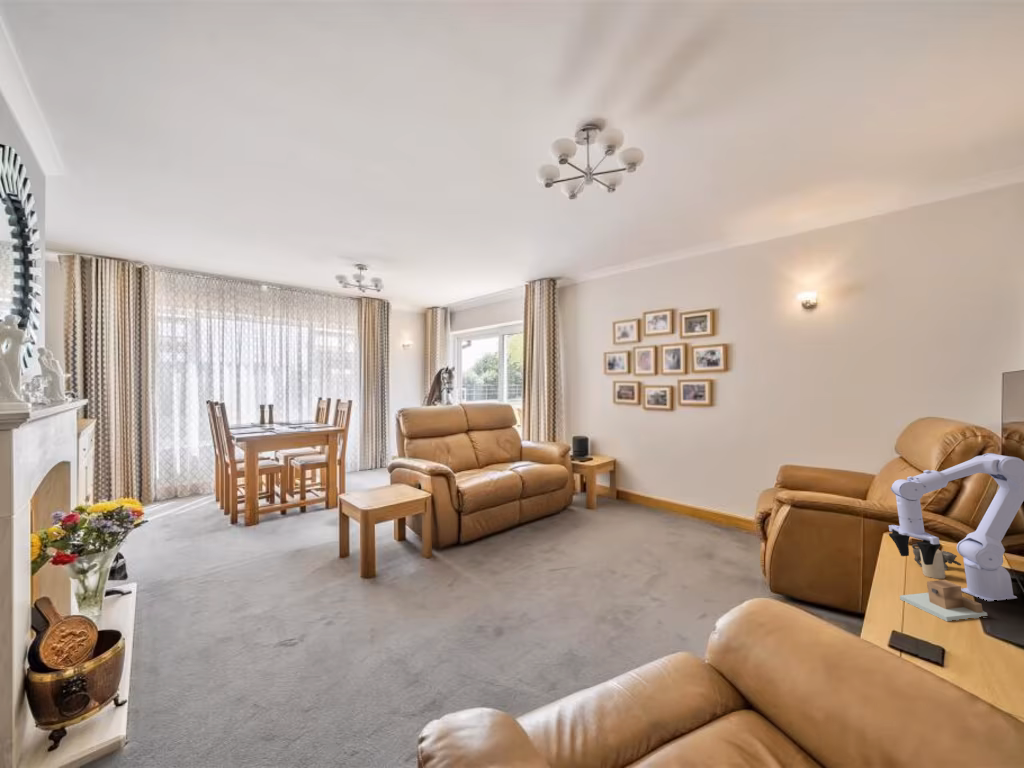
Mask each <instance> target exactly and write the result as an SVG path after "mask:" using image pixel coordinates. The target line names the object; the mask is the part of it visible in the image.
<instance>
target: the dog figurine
mask: <svg viewBox="0 0 1024 768" xmlns="http://www.w3.org/2000/svg"><path fill="white" fill-rule="evenodd" d="M916 546H917V547H916ZM911 547H912V552H913V555H914V559H913V560H914V561H915V562H916V563H917V565H919V567H920V568H922V563H921V556H920V548H919V546H918V544H917V543H913V544H912V545H911ZM941 551H942V556H943V563H944V569H945V571H948V565H947V564H946V563H948V564H949V565H952V564H955V565H957V566H962V563H960V562H959V561H957V560H956V558H957V557H958V556H957V555H956V554H954V553H953V552H950V551H946V550H941Z"/></svg>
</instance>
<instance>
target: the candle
mask: <svg viewBox="0 0 1024 768" xmlns="http://www.w3.org/2000/svg"><path fill="white" fill-rule="evenodd" d="M942 551H943V550H940V549H939V548H938V549H937V551H936V553H935V556H934V560H933V564H932V565H925V564H924V562H923V557H922V553H921V550H920V556H921V561H920V563H921V564H922V567H921V568H922V574H923V575H924V577H928V578H930V579H932V578H933V579H939V580H945V578H946V570H945V569H944V563H943V556H942Z"/></svg>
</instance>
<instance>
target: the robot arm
mask: <svg viewBox="0 0 1024 768" xmlns="http://www.w3.org/2000/svg"><path fill="white" fill-rule="evenodd" d="M976 474H987V475H989V476H990V477H991V478H993V480H994V481H995V482H996V484H997V485H998V486H999V488H998V489H997V491H996V494H995V495H994V497H993V499H992V501H991V502H990V504H989V506H988V508H987V510H986V512H985V513H984V515H983V516H982V519H981V520H980V522H979V524H978V526H977V528H976V530H974V531H972V532H970V533H967V534H966V535H965V536H966V537H964V538H963V539H961V540H960V541H959V542H957V544H956V550H957V553H958V554H959V555H960V556H961V557H962V558H963V566H964V573H965V580H966V587H964V588H962V587H961V591H962V593H965V594H968V595H970V596H973V597H976V598H978V597H979V598H978V599H981V600H983V599H984V600H983V601H986V600H987V601H986V602H995V601H994V600H997V601H1006V599H1007V600H1014V599H1018V597H1017V596H1016V595H1014V590H1013V583H1012V579H1011V578H1012V577H1011V574H1010V573H1009V571H1008V570H1007V569H1006V568H1005V567H1003V566H1002V565H1003V563H1004V553H1005V551H1006V549H1005V546H1004V545H1003V544H1002V543H1003V542H1002V540H1003V538H1004V537H1005V535H1006V533H1007V531H1008V529H1009V528H1010V526H1011V525H1012V522H1013V521H1014V519H1015V517H1016V515H1017V513H1018V512H1019V509H1020V508H1021V506H1022V504H1023V502H1024V460H1023V459H1021V458H1020V457H1016V456H1008V455H1001V454H997V453H994V452H988V453H984V454H982V455H976V456H974V457H973V458H971V459H969V460H966V461H964V462H961V463H959V464H956V465H953V466H951V467H948V468H946V469H943V470H941V471H938V470H934V469H932V470H930V469H925V470H923V473H920V474H917V475H914V476H911V475H910V476H907V477H906V479H902V478H901V479H897V480H894V482H893V483H892V484H891V487H890V491H891V492H892V493H893V494H894V495H895V500H896V508H897V516H898V523H899V525H895V524H891V525H888V530H889V532H892V533H888V535H889V537H890V538H891V539H892V541H893V543H894V544H895V545H896V547H897V550H898V552H899V555H900V556H901V557H908V556H910V549H909V547H910V546H909V541H910V537H911V538H912V539H913V538H914V539H917V540H920V541H916V544H918V546H917V547H919V548H920V550H921V553H922V557H923V562H924V564H925V565H932V564H933V560H934V556H935V553H936V551H937V549H939V548H940V547H941V543H940V538H939V536H935V535H933V534H930V533H928V532H927V531H925V527H924V520H923V511H922V505H921V504H922V503H921V499H922V498H923V496H924V495H926V494H929V493H931V492H934V491H937V490H940V489H943V488H944V489H945V488H946V487H947V486H948V483H949V482H951V481H954V480H958V479H962V478H965V477H969V476H971V475H976Z"/></svg>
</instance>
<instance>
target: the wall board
mask: <svg viewBox="0 0 1024 768" xmlns="http://www.w3.org/2000/svg"><path fill="white" fill-rule="evenodd" d="M962 597H963V604H964V607H962V608H952V609H944V608H942V607H940V606H938V605H935V604H933V603H931V602H930V600H929V593H928V592H922V593H912V594H910V593H909V594H902V595H899V600H901V601H903V602H904V601H905V603H907V604H909V605H911V606H913V607H916V608H917V609H920V610H921V611H924V612H926V613H928V614H930V615H933V616H935V617H936V616H937V618H939V619H941V620H943V621H945V622H953V621H952V620H956V621H960V620H959V619H965V620H968V619H967V618H974V619H980V618H979V617H981V616H988V612H986V611H984V610H983V606H982V603H979V602H977V601H975V600H972V599H970V598H968V597H964V596H963V595H962Z"/></svg>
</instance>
